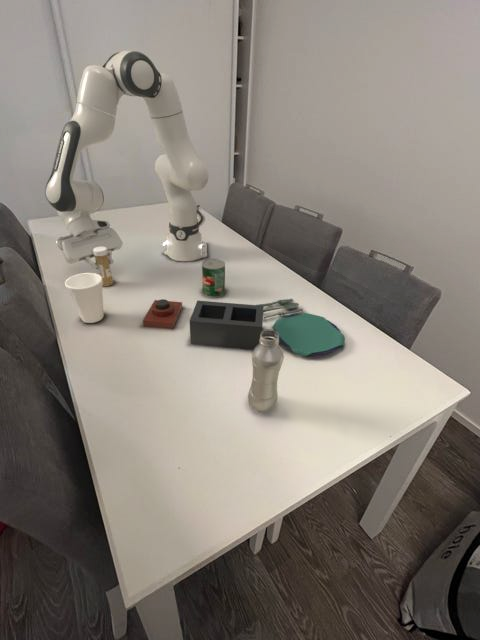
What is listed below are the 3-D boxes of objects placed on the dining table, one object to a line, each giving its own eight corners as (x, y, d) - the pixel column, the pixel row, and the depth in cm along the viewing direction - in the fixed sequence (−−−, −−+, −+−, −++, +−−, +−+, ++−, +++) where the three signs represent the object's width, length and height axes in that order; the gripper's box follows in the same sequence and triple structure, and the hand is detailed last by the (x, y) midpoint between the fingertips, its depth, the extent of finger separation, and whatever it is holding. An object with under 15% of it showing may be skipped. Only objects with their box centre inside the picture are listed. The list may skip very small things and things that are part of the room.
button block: (155, 305, 111) (154, 295, 108) (182, 307, 110) (181, 297, 108) (143, 326, 101) (141, 315, 98) (173, 329, 100) (172, 317, 98)
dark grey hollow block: (198, 322, 103) (197, 300, 99) (261, 328, 102) (263, 305, 98) (190, 344, 94) (189, 320, 90) (260, 350, 93) (262, 327, 89)
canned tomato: (228, 289, 121) (229, 261, 115) (218, 299, 115) (218, 270, 109) (209, 284, 124) (209, 257, 118) (198, 294, 118) (197, 265, 112)
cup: (116, 313, 106) (109, 276, 98) (95, 330, 98) (86, 291, 91) (90, 306, 108) (81, 270, 101) (67, 323, 100) (56, 284, 93)
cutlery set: (295, 366, 88) (296, 360, 87) (248, 309, 111) (248, 303, 110) (355, 349, 95) (357, 343, 94) (299, 298, 118) (300, 293, 117)
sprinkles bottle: (115, 284, 121) (108, 249, 114) (102, 287, 119) (94, 252, 111) (111, 279, 124) (104, 245, 117) (98, 282, 122) (91, 247, 114)
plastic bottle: (245, 394, 80) (250, 325, 68) (274, 393, 80) (283, 325, 69) (248, 416, 74) (254, 345, 63) (278, 415, 75) (289, 344, 64)
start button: (158, 303, 105) (158, 298, 104) (170, 304, 105) (169, 299, 104) (155, 309, 102) (154, 304, 101) (167, 310, 102) (166, 305, 101)
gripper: (55, 234, 108) (77, 271, 108) (112, 220, 121) (132, 253, 121) (52, 243, 113) (73, 279, 113) (107, 229, 126) (126, 261, 126)
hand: (104, 265), depth 117 cm, fingers closed on sprinkles bottle, 4 cm apart
